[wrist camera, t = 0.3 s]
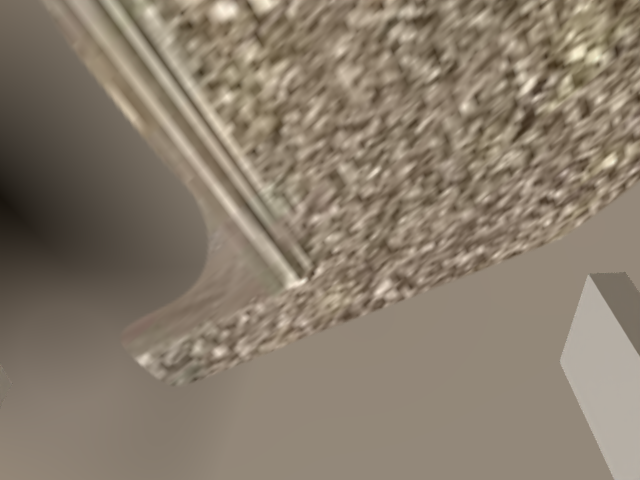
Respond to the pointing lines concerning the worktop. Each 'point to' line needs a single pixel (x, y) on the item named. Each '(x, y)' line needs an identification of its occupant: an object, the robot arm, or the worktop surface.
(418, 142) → the worktop surface
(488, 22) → the worktop surface
